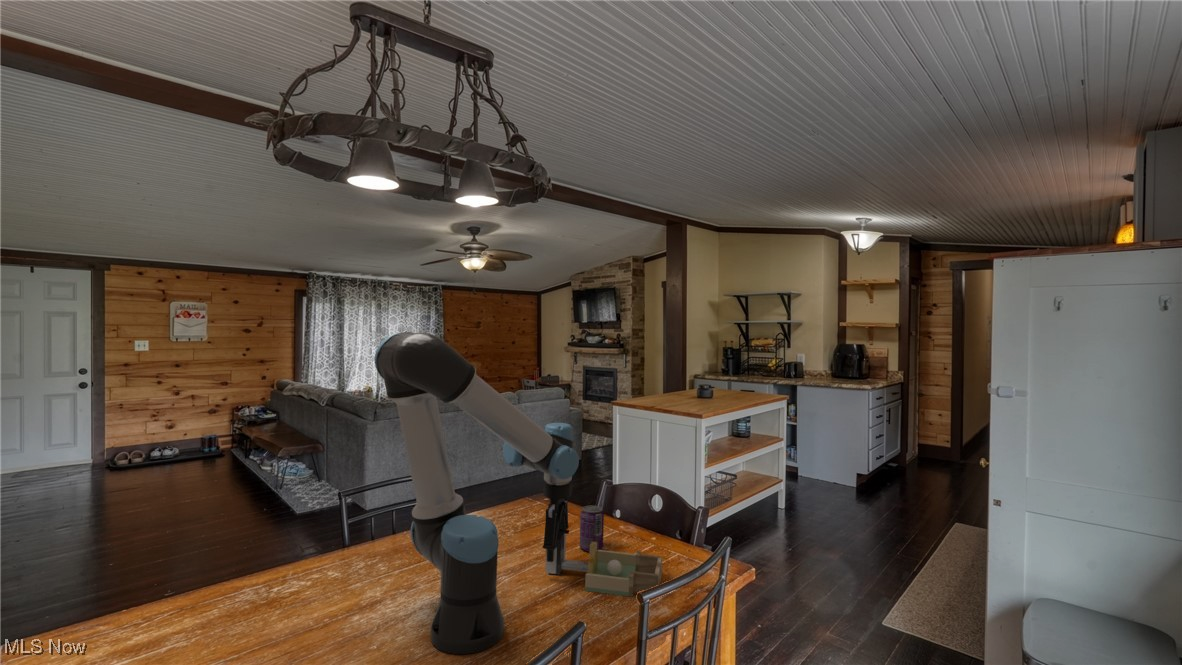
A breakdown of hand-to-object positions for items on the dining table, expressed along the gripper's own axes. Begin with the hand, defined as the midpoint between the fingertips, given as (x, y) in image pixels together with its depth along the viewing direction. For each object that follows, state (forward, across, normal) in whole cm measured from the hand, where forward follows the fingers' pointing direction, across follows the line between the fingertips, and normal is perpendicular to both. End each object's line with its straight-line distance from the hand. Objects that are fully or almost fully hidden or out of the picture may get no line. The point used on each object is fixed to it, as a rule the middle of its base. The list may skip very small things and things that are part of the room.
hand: (555, 565), depth 143 cm
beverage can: (+2, +18, -6) cm, 19 cm away
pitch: (+2, 0, -16) cm, 16 cm away
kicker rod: (+2, 0, -5) cm, 5 cm away
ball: (-1, 0, -16) cm, 16 cm away
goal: (+2, 0, -24) cm, 25 cm away
